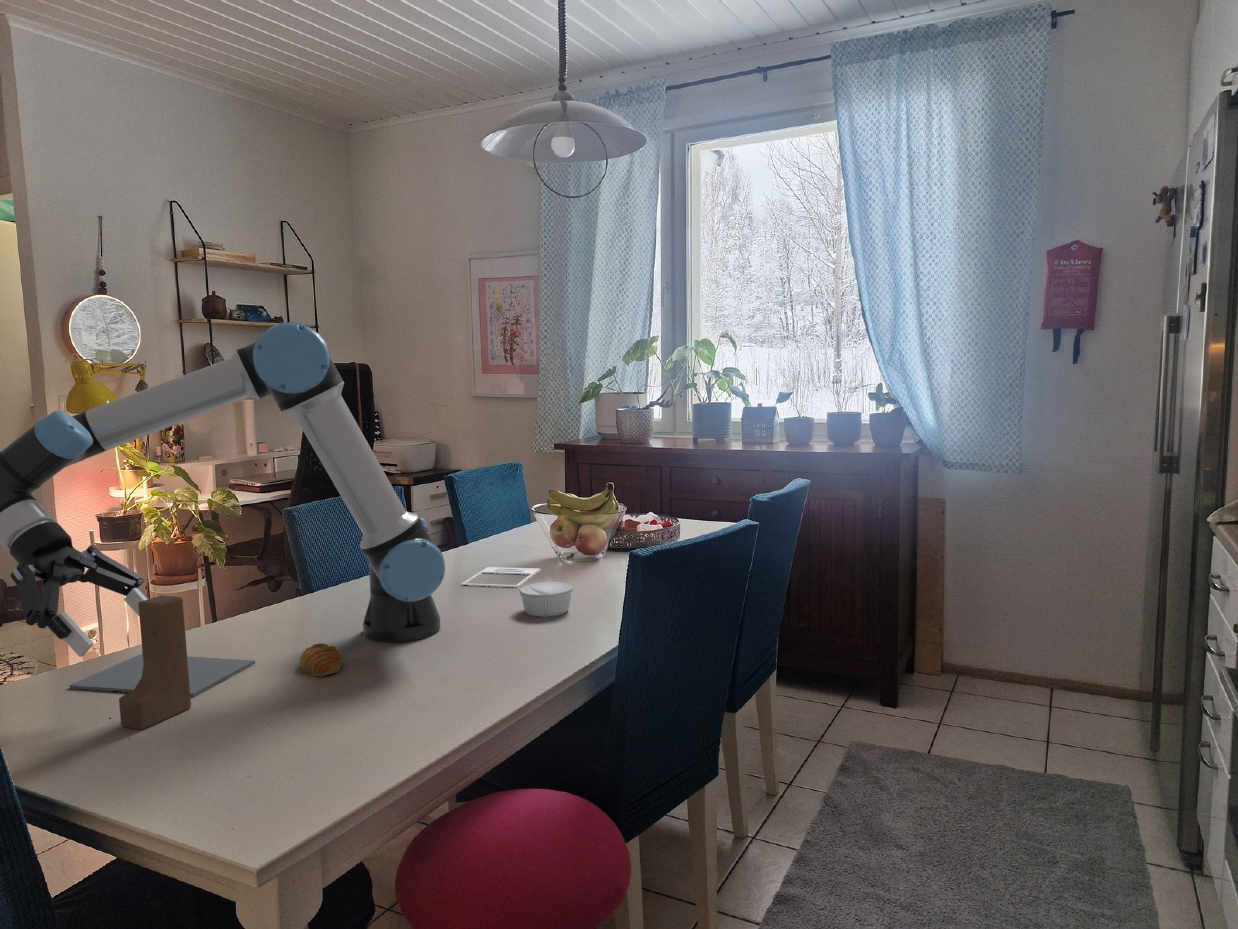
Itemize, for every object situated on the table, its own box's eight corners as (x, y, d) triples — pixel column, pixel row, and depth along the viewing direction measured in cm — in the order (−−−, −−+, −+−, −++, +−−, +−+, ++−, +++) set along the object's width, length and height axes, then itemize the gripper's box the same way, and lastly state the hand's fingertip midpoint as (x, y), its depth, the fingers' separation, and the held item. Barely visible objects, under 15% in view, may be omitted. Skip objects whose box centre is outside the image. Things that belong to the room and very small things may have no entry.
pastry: (350, 673, 147) (349, 652, 147) (311, 682, 144) (309, 661, 143) (334, 659, 155) (333, 639, 155) (296, 667, 151) (295, 646, 151)
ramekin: (511, 616, 180) (510, 592, 179) (535, 602, 190) (535, 579, 189) (558, 621, 175) (557, 596, 175) (581, 606, 186) (580, 583, 185)
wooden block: (141, 731, 124) (131, 612, 122) (120, 727, 126) (109, 609, 124) (192, 708, 133) (183, 596, 131) (171, 704, 134) (162, 594, 132)
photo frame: (540, 568, 220) (517, 585, 203) (540, 572, 220) (517, 589, 203) (487, 566, 223) (460, 583, 206) (487, 570, 223) (461, 587, 206)
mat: (255, 663, 153) (255, 660, 153) (193, 697, 137) (193, 693, 137) (141, 657, 158) (141, 653, 158) (69, 688, 142) (69, 685, 142)
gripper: (86, 537, 143) (169, 627, 141) (-60, 571, 118) (38, 681, 117) (110, 506, 141) (194, 597, 139) (-34, 535, 117) (67, 646, 115)
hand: (123, 636), depth 128 cm, fingers open, 13 cm apart
